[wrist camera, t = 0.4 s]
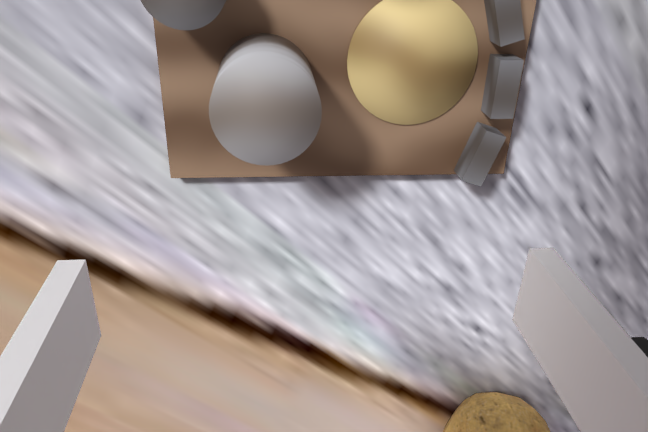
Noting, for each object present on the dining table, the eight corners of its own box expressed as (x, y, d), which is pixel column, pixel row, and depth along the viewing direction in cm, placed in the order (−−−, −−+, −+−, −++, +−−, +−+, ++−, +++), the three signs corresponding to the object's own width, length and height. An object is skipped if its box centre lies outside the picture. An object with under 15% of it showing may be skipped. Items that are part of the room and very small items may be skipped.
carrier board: (145, -89, 34) (113, -91, 27) (542, -77, 36) (612, -76, 29) (173, 173, 42) (154, 226, 35) (497, 169, 44) (542, 217, 37)
